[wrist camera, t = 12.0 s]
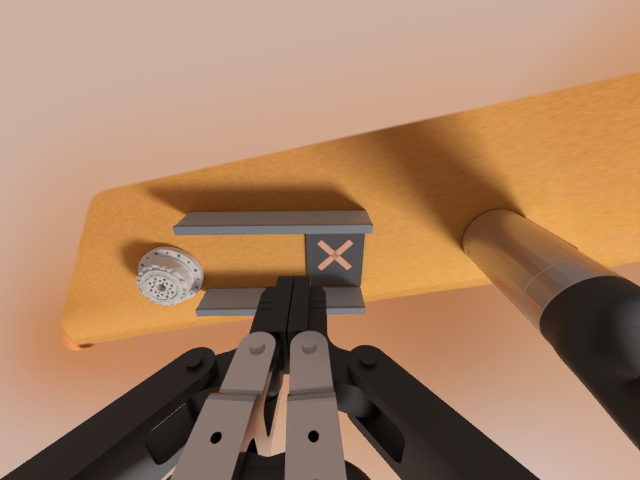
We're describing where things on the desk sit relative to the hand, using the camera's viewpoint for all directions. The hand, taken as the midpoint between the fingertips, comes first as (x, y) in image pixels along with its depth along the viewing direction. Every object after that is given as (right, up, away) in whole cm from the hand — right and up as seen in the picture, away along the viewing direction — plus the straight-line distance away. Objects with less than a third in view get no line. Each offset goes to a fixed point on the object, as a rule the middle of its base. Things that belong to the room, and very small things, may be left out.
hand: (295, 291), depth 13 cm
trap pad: (+3, 0, +32) cm, 32 cm away
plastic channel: (-5, 0, +31) cm, 32 cm away
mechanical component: (-23, -3, +33) cm, 40 cm away
